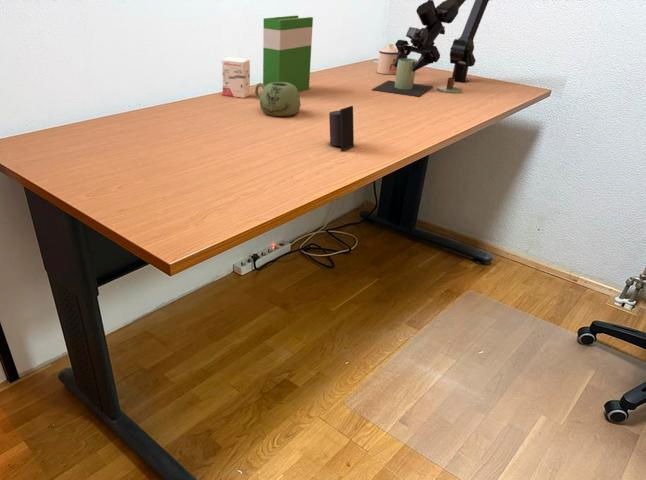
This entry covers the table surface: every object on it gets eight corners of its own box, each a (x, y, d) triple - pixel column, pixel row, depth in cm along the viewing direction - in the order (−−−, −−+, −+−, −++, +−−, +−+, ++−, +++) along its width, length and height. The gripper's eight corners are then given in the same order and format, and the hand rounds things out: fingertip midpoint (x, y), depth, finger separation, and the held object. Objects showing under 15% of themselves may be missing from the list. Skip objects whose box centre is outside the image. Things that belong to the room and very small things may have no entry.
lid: (440, 86, 198) (442, 75, 196) (462, 89, 195) (465, 77, 192) (435, 90, 191) (437, 78, 189) (458, 94, 188) (460, 81, 186)
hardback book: (293, 85, 192) (296, 15, 179) (309, 88, 188) (312, 17, 175) (263, 92, 180) (263, 18, 167) (278, 96, 176) (280, 20, 164)
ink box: (221, 95, 175) (220, 59, 169) (228, 92, 179) (227, 56, 173) (244, 98, 172) (243, 61, 166) (250, 95, 176) (250, 59, 170)
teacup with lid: (392, 75, 214) (396, 46, 207) (372, 72, 218) (376, 43, 212) (403, 71, 222) (407, 43, 216) (384, 69, 226) (388, 41, 220)
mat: (388, 81, 204) (388, 80, 204) (432, 87, 197) (432, 86, 197) (371, 90, 189) (372, 89, 189) (418, 96, 182) (419, 96, 182)
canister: (408, 85, 197) (413, 58, 191) (415, 89, 191) (419, 61, 186) (391, 85, 196) (395, 58, 190) (397, 89, 190) (402, 61, 185)
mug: (307, 111, 160) (309, 83, 155) (285, 120, 151) (286, 90, 146) (266, 103, 167) (267, 76, 162) (243, 111, 158) (243, 82, 153)
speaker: (360, 147, 130) (360, 106, 125) (342, 151, 128) (341, 109, 123) (342, 141, 136) (342, 102, 131) (325, 145, 134) (324, 105, 129)
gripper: (402, 16, 189) (377, 49, 189) (441, 21, 176) (414, 57, 177) (413, 37, 197) (389, 69, 198) (451, 44, 184) (425, 78, 185)
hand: (403, 68), depth 189 cm, fingers open, 9 cm apart
